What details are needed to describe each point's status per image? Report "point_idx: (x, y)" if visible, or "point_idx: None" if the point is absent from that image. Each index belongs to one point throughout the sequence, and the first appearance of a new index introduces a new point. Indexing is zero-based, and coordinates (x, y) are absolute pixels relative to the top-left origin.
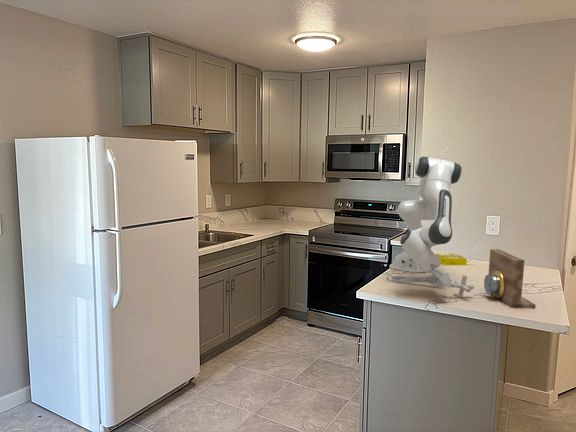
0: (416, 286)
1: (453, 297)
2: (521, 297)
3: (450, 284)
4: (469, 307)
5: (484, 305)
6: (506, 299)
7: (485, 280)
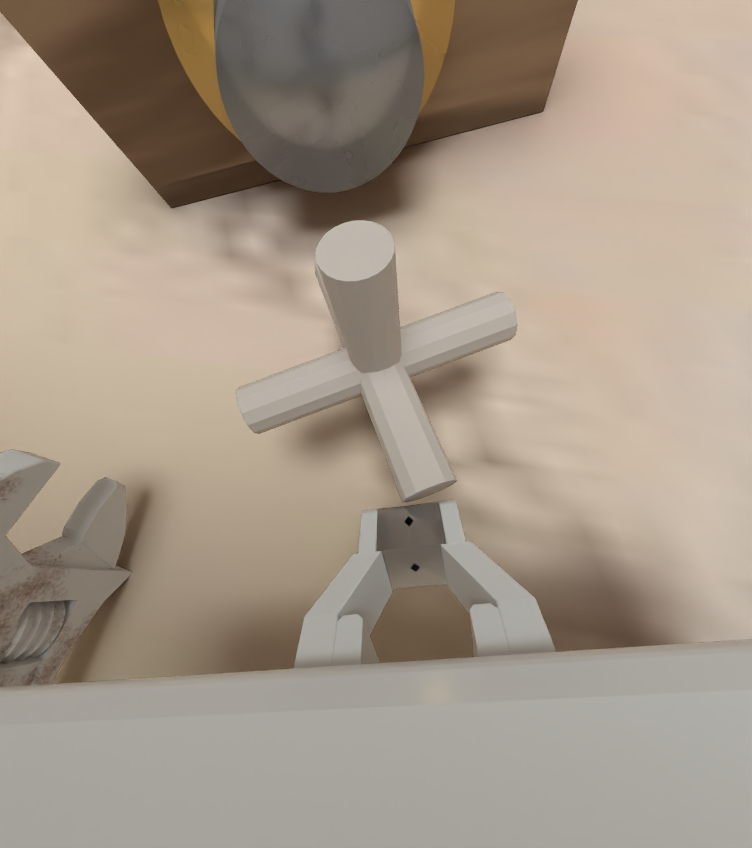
0: None
1: None
2: None
3: (458, 522)
4: (687, 380)
5: (563, 260)
6: (478, 87)
7: (253, 92)
